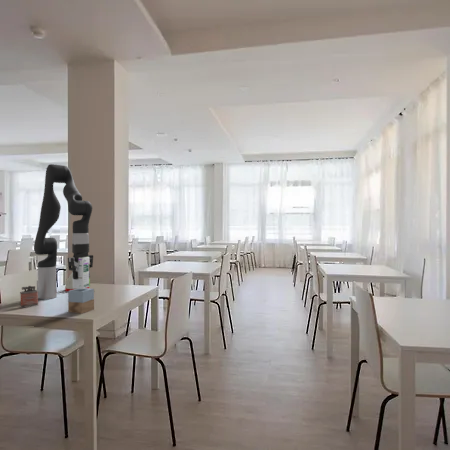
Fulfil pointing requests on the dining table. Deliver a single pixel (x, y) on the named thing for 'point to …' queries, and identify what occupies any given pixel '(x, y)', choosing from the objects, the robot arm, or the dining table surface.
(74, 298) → the tower top block
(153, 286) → the dining table surface
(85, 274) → the syrup box
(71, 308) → the tower bottom block
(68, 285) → the kitchen timer
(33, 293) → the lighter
